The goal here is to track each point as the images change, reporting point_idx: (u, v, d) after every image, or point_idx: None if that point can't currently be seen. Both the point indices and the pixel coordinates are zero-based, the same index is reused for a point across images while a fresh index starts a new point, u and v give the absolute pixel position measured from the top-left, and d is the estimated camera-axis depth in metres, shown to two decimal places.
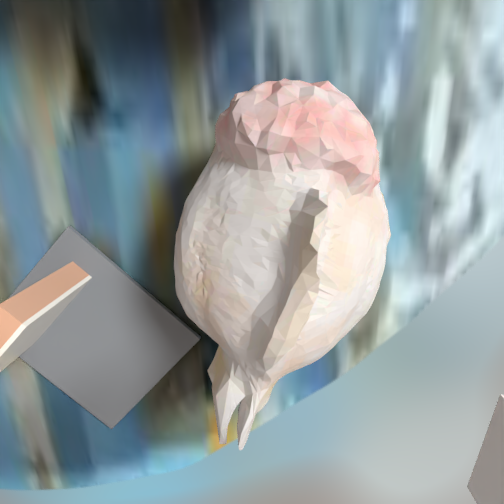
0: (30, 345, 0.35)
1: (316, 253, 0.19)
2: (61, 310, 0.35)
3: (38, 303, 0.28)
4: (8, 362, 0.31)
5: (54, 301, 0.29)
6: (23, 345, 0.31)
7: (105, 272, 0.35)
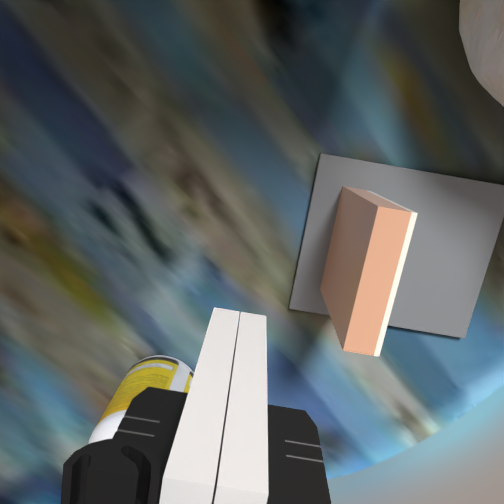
0: None
1: None
2: None
3: (388, 203, 0.24)
4: None
5: (391, 201, 0.25)
6: None
7: (380, 177, 0.31)
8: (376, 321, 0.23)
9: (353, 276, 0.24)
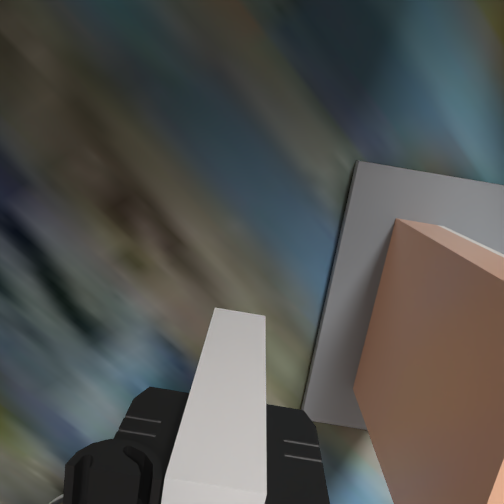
0: None
1: None
2: None
3: None
4: None
5: None
6: None
7: (463, 202, 0.17)
8: None
9: (459, 448, 0.10)
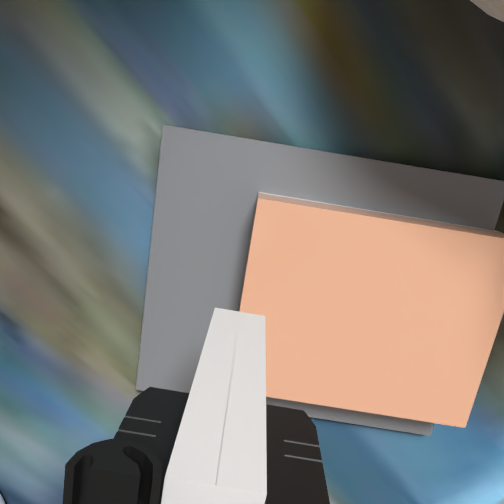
0: None
1: None
2: None
3: (444, 224, 0.17)
4: None
5: (407, 216, 0.17)
6: None
7: (271, 166, 0.17)
8: None
9: (456, 339, 0.17)
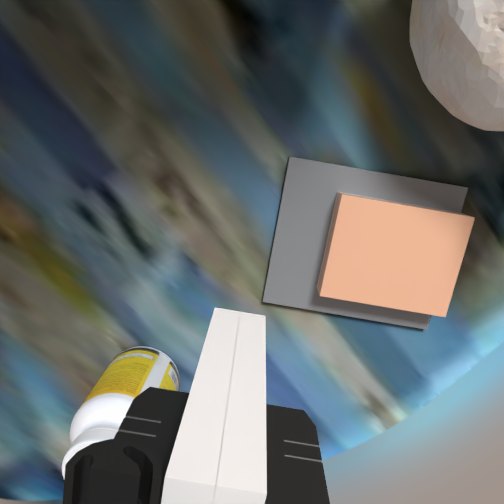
0: None
1: None
2: None
3: (434, 209, 0.33)
4: None
5: (415, 205, 0.33)
6: None
7: (344, 178, 0.33)
8: None
9: (440, 267, 0.33)
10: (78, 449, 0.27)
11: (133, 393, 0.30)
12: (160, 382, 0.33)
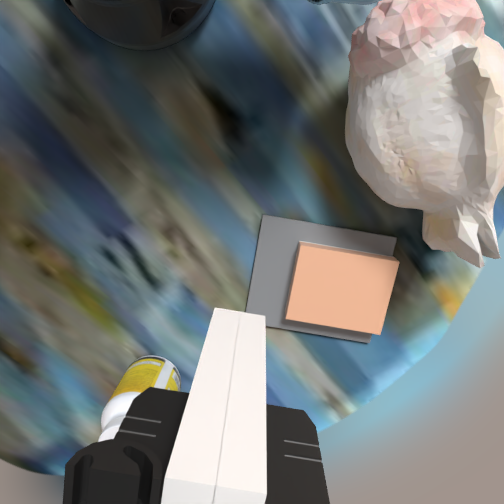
0: None
1: (489, 79, 0.27)
2: None
3: (371, 254, 0.44)
4: None
5: (357, 251, 0.44)
6: None
7: (304, 231, 0.44)
8: None
9: (375, 298, 0.44)
10: (109, 431, 0.38)
11: None
12: (166, 383, 0.45)
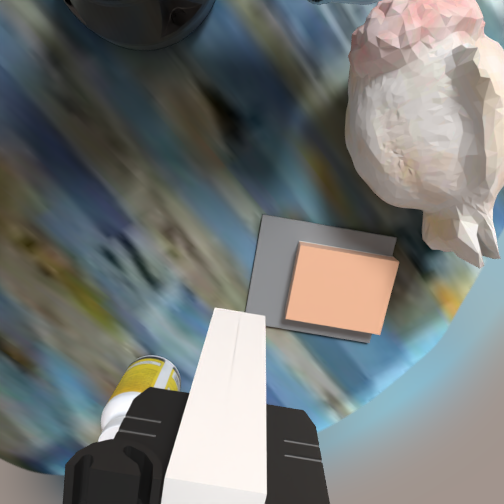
0: None
1: (489, 79, 0.27)
2: None
3: (370, 254, 0.44)
4: None
5: (357, 251, 0.44)
6: None
7: (304, 231, 0.44)
8: None
9: (375, 298, 0.44)
10: (109, 431, 0.38)
11: None
12: (166, 383, 0.45)
